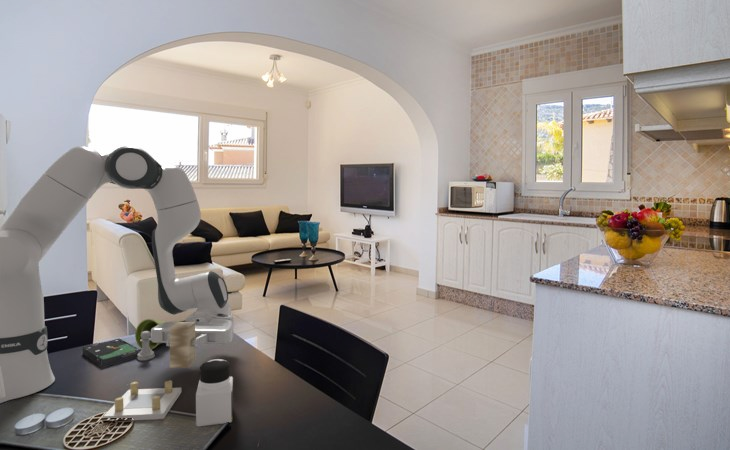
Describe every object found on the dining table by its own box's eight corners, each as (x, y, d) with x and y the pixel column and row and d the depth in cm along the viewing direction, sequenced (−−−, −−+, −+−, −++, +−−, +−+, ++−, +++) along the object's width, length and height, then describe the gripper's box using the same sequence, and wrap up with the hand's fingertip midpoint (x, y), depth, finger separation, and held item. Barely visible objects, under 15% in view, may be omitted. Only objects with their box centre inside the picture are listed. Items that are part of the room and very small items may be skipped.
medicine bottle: (232, 422, 87) (232, 367, 86) (196, 427, 85) (195, 371, 84) (233, 406, 94) (232, 354, 93) (199, 410, 92) (198, 357, 91)
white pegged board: (103, 421, 87) (102, 404, 87) (128, 394, 99) (128, 379, 98) (163, 418, 88) (163, 402, 88) (181, 392, 100) (181, 377, 100)
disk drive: (82, 356, 123) (102, 369, 114) (81, 347, 122) (101, 359, 113) (119, 346, 131) (141, 357, 122) (119, 337, 131) (141, 348, 122)
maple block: (169, 367, 100) (169, 327, 100) (177, 360, 105) (177, 321, 104) (188, 368, 100) (188, 327, 100) (195, 360, 105) (195, 322, 104)
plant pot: (174, 350, 134) (154, 354, 125) (151, 340, 136) (130, 343, 128) (183, 322, 134) (165, 325, 126) (160, 312, 137) (141, 314, 128)
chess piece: (154, 353, 124) (154, 327, 123) (155, 359, 120) (154, 332, 119) (136, 356, 122) (136, 329, 121) (136, 362, 118) (136, 334, 117)
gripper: (163, 314, 114) (138, 330, 101) (238, 315, 115) (223, 331, 101) (163, 336, 115) (138, 355, 101) (238, 337, 116) (222, 356, 102)
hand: (181, 343), depth 101 cm, fingers closed on maple block, 4 cm apart
